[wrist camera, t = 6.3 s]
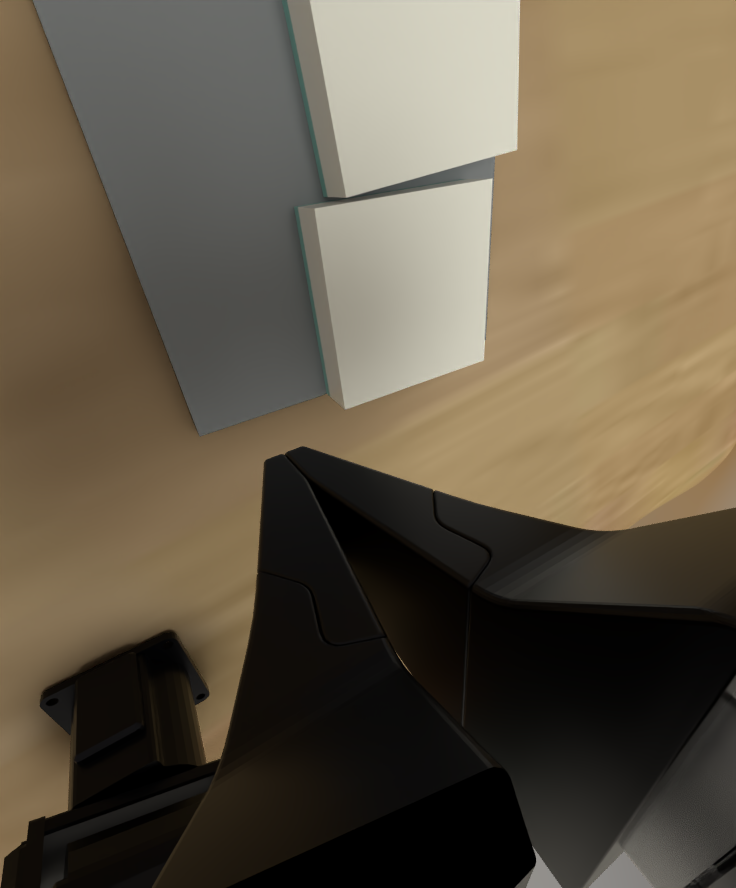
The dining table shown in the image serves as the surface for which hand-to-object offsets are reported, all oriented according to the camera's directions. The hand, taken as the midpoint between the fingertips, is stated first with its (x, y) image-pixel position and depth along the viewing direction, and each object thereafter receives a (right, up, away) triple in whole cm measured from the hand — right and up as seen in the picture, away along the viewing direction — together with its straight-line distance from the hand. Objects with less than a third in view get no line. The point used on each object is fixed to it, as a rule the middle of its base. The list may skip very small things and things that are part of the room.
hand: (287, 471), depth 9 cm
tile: (0, +6, +9) cm, 11 cm away
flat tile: (+3, +15, +7) cm, 17 cm away
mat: (0, +10, +9) cm, 14 cm away
